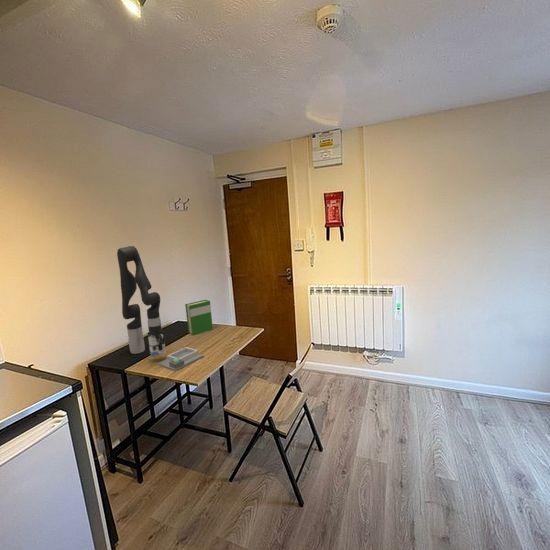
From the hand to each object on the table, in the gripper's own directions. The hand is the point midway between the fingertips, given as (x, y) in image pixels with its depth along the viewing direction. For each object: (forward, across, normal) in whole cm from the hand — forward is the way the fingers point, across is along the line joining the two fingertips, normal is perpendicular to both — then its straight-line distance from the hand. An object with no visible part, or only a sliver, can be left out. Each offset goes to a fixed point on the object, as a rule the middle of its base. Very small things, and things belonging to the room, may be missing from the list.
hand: (157, 349), depth 193 cm
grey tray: (+7, +15, +6) cm, 17 cm away
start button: (+5, +20, -1) cm, 20 cm away
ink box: (+3, 0, 0) cm, 3 cm away
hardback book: (+9, -15, +50) cm, 53 cm away
